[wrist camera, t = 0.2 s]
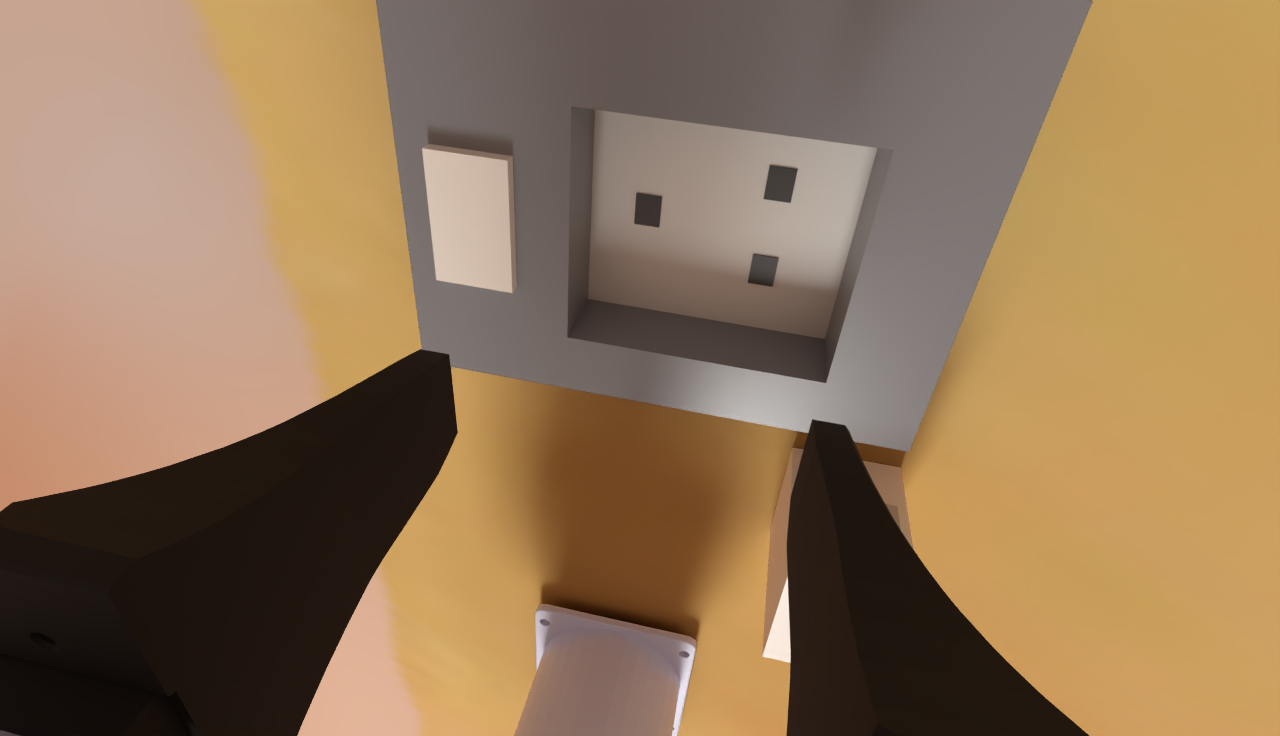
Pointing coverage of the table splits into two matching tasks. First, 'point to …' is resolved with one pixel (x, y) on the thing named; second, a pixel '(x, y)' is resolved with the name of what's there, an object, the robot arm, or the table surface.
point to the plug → (777, 578)
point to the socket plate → (715, 191)
